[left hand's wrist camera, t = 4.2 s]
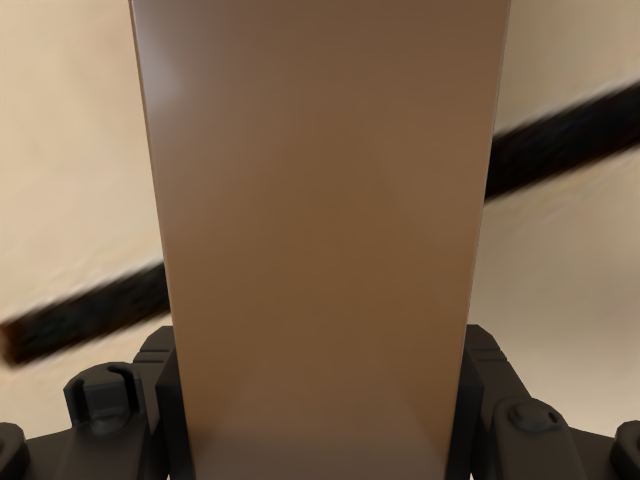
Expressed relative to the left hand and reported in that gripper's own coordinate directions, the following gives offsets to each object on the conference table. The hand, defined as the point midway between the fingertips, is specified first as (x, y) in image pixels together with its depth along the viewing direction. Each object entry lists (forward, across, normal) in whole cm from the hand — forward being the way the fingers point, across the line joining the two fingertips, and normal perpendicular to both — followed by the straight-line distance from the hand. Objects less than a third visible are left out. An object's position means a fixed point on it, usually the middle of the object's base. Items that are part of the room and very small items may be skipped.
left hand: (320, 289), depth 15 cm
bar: (+1, 0, -9) cm, 9 cm away
